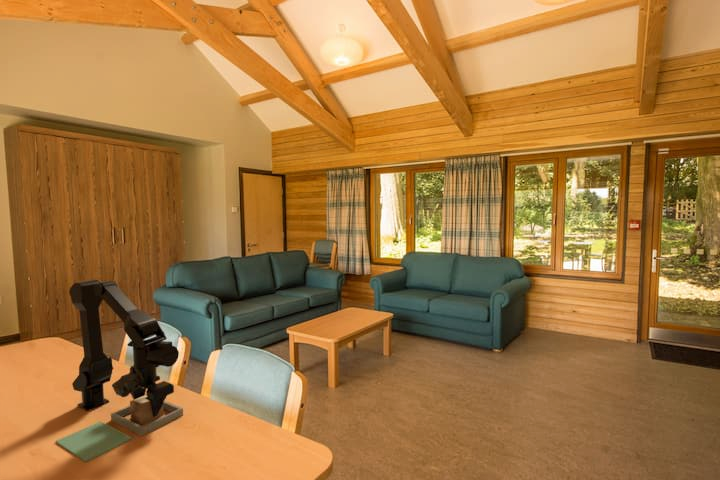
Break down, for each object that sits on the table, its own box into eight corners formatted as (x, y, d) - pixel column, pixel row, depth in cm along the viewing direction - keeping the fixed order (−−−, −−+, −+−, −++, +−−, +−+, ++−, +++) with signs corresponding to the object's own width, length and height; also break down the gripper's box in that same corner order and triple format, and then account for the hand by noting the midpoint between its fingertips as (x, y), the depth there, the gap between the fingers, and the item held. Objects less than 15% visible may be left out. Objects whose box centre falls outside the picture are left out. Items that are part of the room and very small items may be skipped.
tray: (111, 420, 113) (110, 413, 113) (152, 401, 124) (152, 395, 124) (141, 435, 105) (141, 428, 105) (183, 414, 116) (183, 408, 116)
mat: (55, 442, 102) (55, 440, 102) (100, 422, 112) (100, 421, 112) (85, 462, 94) (85, 460, 94) (131, 439, 104) (131, 437, 104)
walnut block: (130, 421, 113) (129, 400, 112) (154, 410, 119) (153, 391, 118) (140, 425, 110) (139, 405, 110) (163, 414, 116) (163, 395, 116)
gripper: (98, 364, 111) (101, 416, 112) (135, 378, 102) (137, 435, 103) (137, 352, 121) (139, 400, 122) (174, 364, 111) (176, 416, 112)
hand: (147, 412), depth 114 cm, fingers open, 8 cm apart
